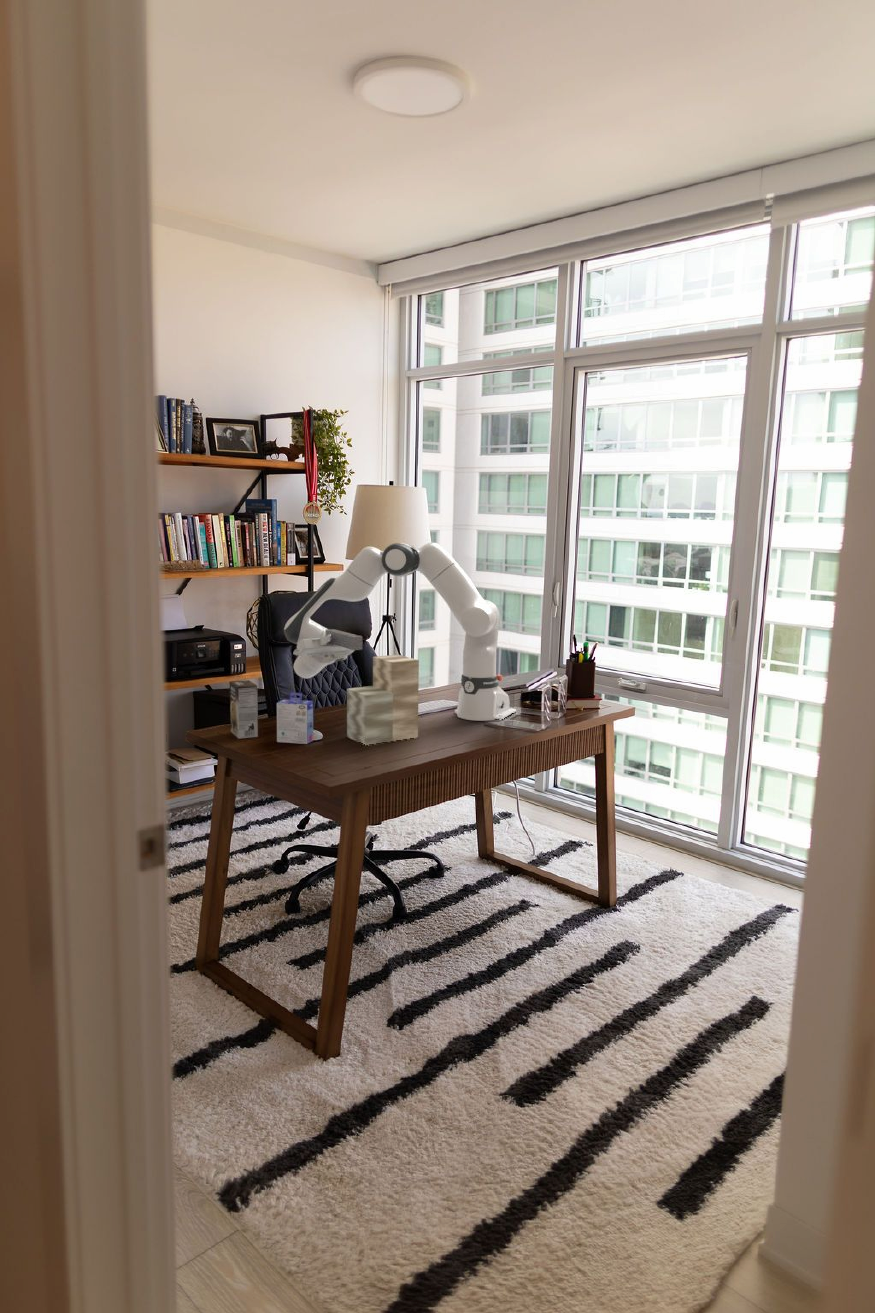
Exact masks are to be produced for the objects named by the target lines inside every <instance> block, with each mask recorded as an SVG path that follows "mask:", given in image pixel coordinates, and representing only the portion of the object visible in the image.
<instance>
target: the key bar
mask: <svg viewBox="0 0 875 1313" xmlns="http://www.w3.org/2000/svg"><path fill="white" fill-rule="evenodd" d="M331 634H332V635H333V640H332V641H329V642H327V643H330V644H334V645H337V646H341V647H344V648H348V649H351V650H355V651H361V650H363V636H362V635H357V634H354V633H350V632H346V631H342V630H338V629H334V628H332V629H331V628H328V630H325V637H326V636H327V635H331Z"/></svg>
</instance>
